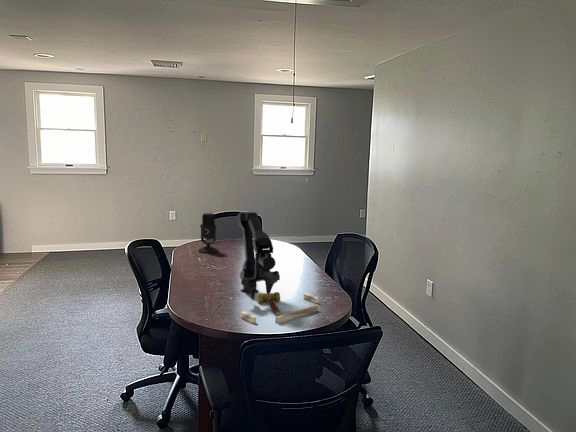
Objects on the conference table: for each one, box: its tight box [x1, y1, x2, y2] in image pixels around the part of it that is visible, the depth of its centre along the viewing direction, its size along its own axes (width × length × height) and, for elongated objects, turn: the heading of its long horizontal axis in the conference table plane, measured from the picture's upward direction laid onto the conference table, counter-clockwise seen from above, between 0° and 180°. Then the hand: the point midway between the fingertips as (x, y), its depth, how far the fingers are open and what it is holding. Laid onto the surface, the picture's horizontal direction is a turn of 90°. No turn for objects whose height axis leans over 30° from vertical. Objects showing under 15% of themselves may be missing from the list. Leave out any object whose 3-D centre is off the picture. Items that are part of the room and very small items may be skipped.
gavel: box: [256, 291, 281, 316], centre depth 202 cm, size 21×5×10 cm
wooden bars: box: [240, 293, 320, 325], centre depth 198 cm, size 14×39×2 cm, turn 134°
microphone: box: [197, 212, 219, 254], centre depth 306 cm, size 14×14×25 cm
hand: (260, 297), depth 210 cm, fingers open, 9 cm apart
